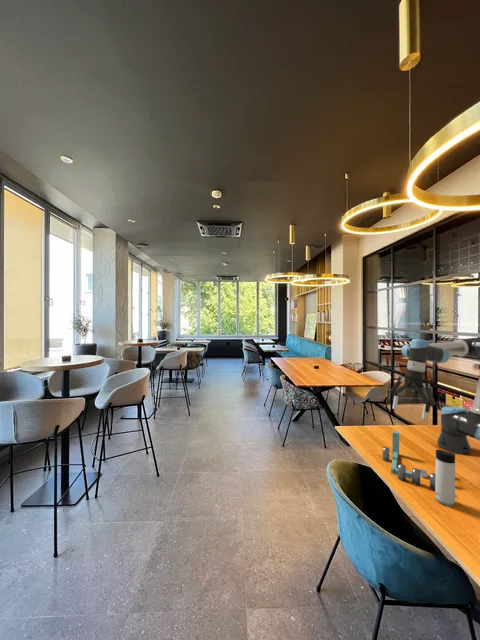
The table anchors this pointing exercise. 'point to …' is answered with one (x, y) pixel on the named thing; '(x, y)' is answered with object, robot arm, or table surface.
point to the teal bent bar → (395, 455)
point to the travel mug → (445, 478)
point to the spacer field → (414, 472)
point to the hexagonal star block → (423, 473)
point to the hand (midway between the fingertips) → (408, 413)
